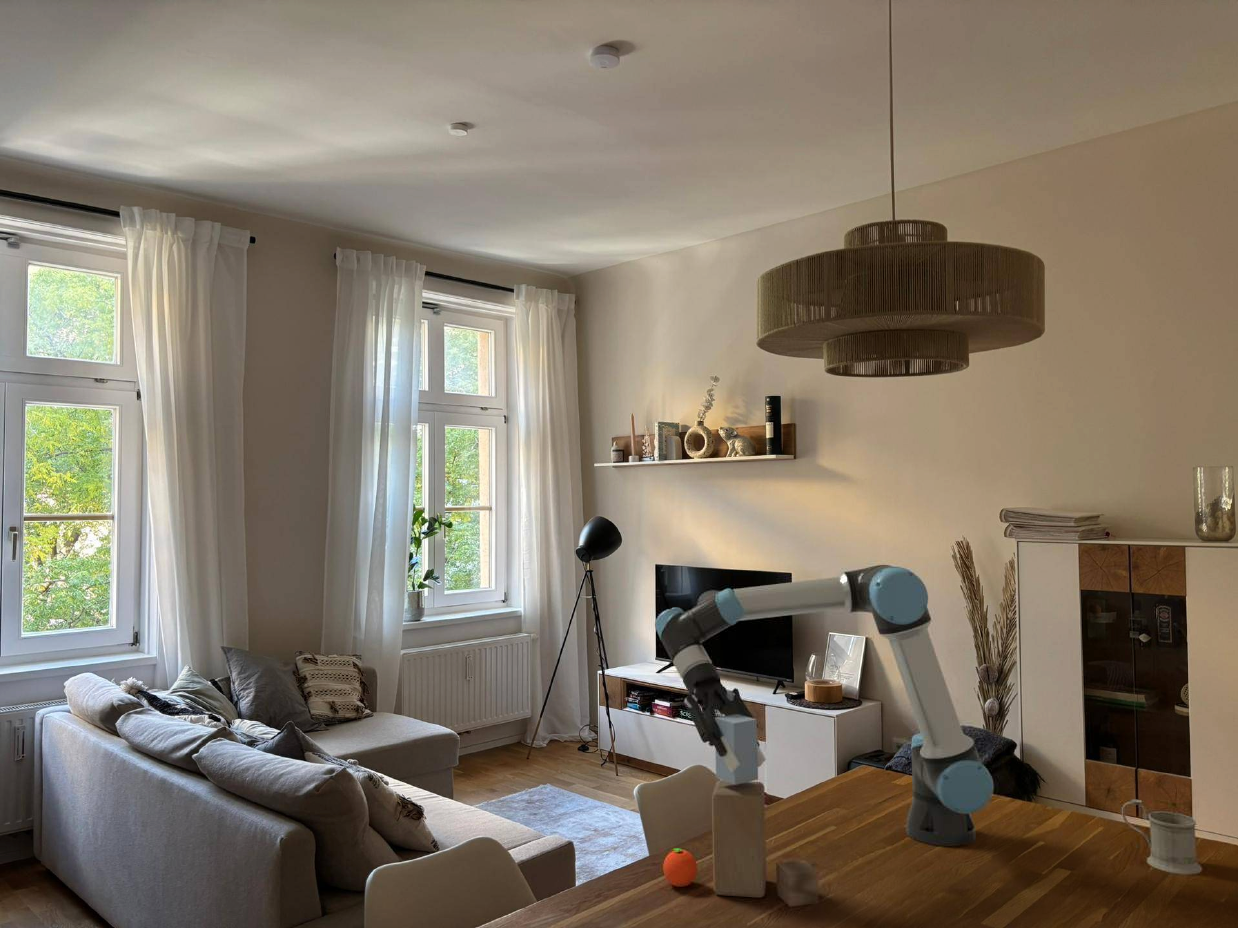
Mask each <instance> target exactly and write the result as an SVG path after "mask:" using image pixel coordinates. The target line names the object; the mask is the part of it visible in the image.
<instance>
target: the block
mask: <svg viewBox="0 0 1238 928" xmlns="http://www.w3.org/2000/svg"><path fill="white" fill-rule="evenodd" d="M765 803H766V801H765V786H764V783H762V782H760V781H750V782H745V783H741V784H736V785H734V784H732V783H729V782H726V781H724V780H721V779H719V780H717V781H716V783H715V786H714V789H713V791H712V795H711V819H712V821H711V822H712V824H711V825H712V829H711V830H712V860H713V861H712V864H713V865H712V868H713V870H712V872H713V873H712V875H713V891H714V893H715V894H716V895H717V896H718V895H719V896H729V897H730V896H731V897H732V896H733V897H747V898H762V897H763V898H764V896H765V894H766V883H767V848H766V846H767V845H766V843H767V842H766V840H767V839H766V837H767V836H766V810H765V809H766V807H765V806H766V804H765Z"/></svg>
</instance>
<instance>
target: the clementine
mask: <svg viewBox="0 0 1238 928" xmlns="http://www.w3.org/2000/svg"><path fill="white" fill-rule="evenodd" d="M662 868H663V875H664V877H665V879H666V880H667V881H668V883H669V884H671V885H673V886H674V887H679V888H680V887H682V888H683V887H687V886H689V885H690V884H692V883H693V881H694V880H695V878H696V876H697V873H698V866H697V861H696V858H695V857H694V856H693V855H692V853H690V852H689V851H687V850H685V849H681V848H678V847H677V848H672V849H671V850H670V852H669V853H668V854H667V855H666V856H665V859H664V861H663V865H662Z"/></svg>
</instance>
